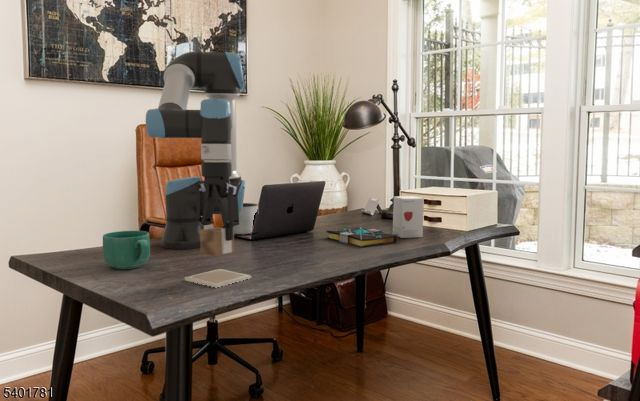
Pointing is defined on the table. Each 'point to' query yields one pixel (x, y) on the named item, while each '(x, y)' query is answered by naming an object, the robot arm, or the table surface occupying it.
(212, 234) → the walnut cube
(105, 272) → the table surface
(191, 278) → the coaster
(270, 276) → the table surface
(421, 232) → the supplement box
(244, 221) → the planter
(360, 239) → the book
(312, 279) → the table surface
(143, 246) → the mug
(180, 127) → the robot arm
